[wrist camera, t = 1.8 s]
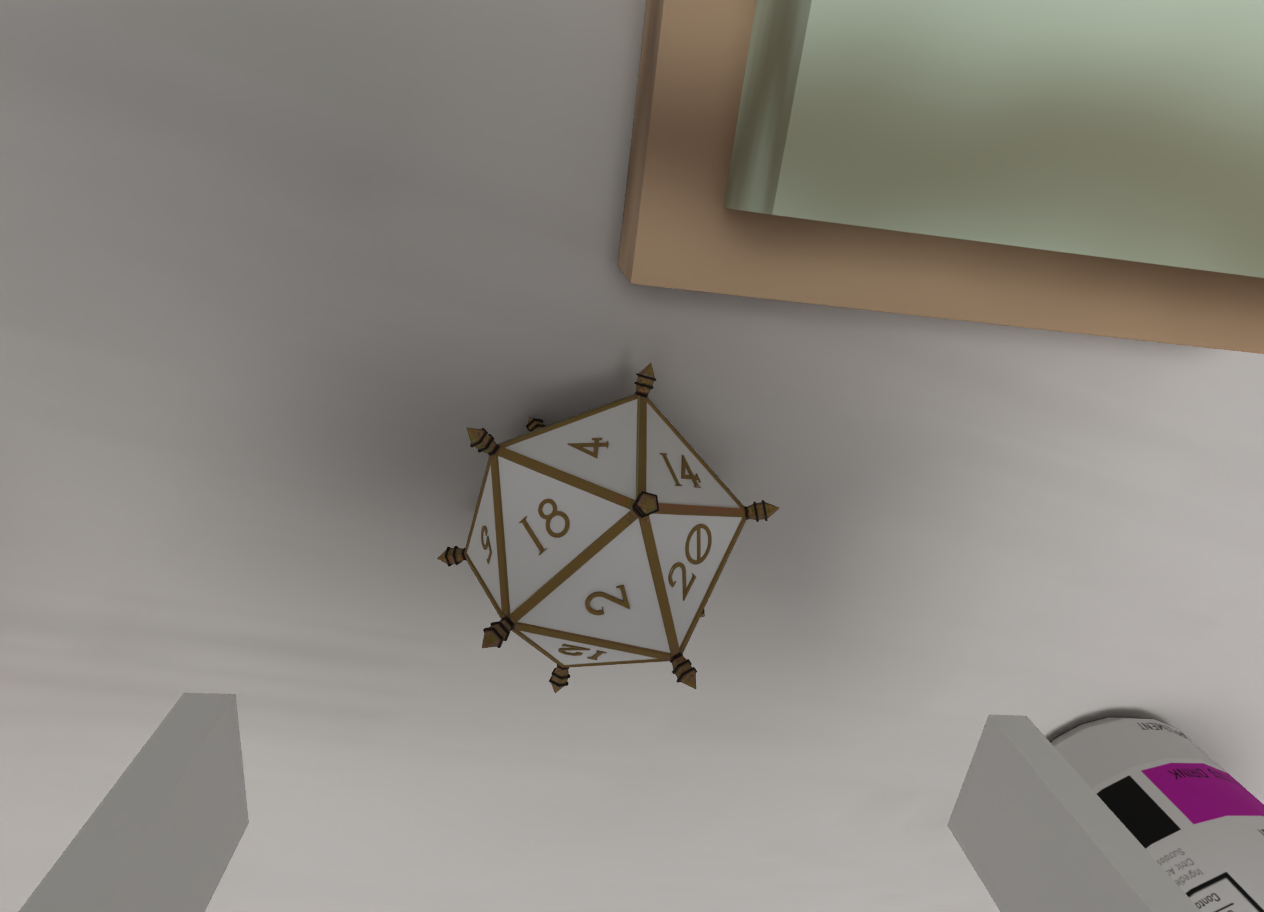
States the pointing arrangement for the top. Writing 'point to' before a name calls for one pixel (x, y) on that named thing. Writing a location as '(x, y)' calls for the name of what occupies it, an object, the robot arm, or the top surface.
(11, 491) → the top surface
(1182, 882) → the supplement can
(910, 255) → the tower base
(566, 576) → the game die
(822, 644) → the top surface
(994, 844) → the robot arm
